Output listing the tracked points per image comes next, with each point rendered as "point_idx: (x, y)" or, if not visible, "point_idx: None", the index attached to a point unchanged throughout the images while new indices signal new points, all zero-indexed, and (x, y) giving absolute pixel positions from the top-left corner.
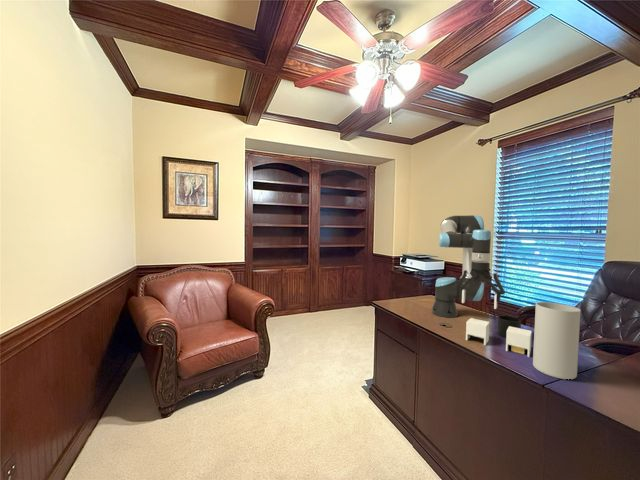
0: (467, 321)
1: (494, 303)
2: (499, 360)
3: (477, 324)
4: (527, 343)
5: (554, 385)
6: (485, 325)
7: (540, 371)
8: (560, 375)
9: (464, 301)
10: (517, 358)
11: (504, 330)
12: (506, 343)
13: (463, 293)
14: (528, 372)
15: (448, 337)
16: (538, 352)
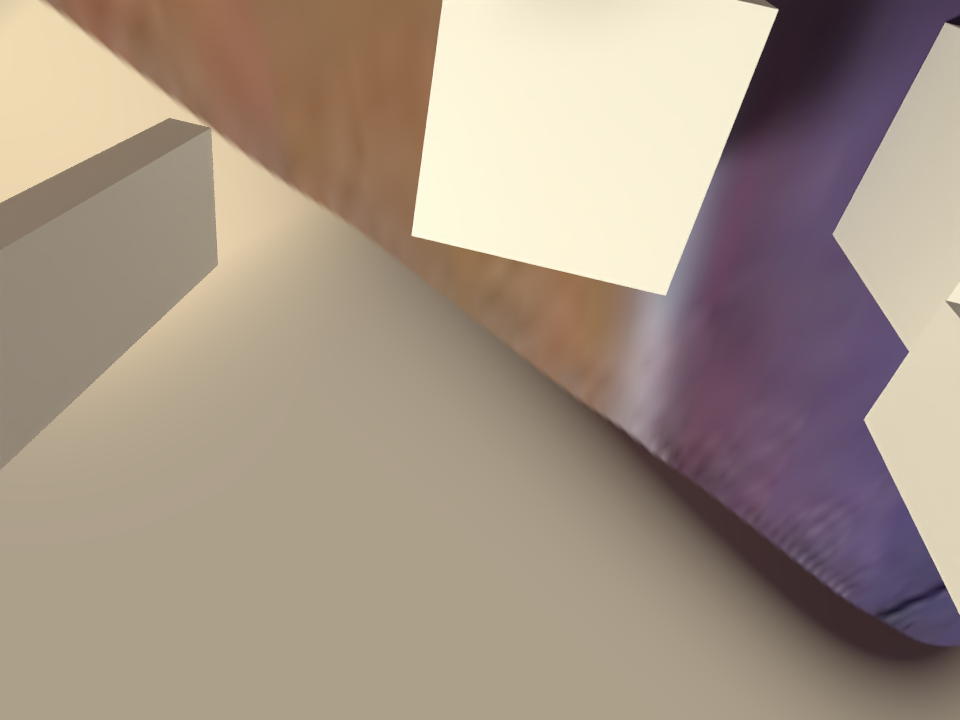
0: (422, 207)
1: (915, 514)
2: (708, 447)
3: (556, 269)
4: None
5: (941, 609)
6: (662, 263)
7: None
8: None
9: (199, 180)
10: (879, 356)
11: None
12: (861, 270)
13: (43, 413)
14: (855, 531)
15: (297, 167)
16: None
